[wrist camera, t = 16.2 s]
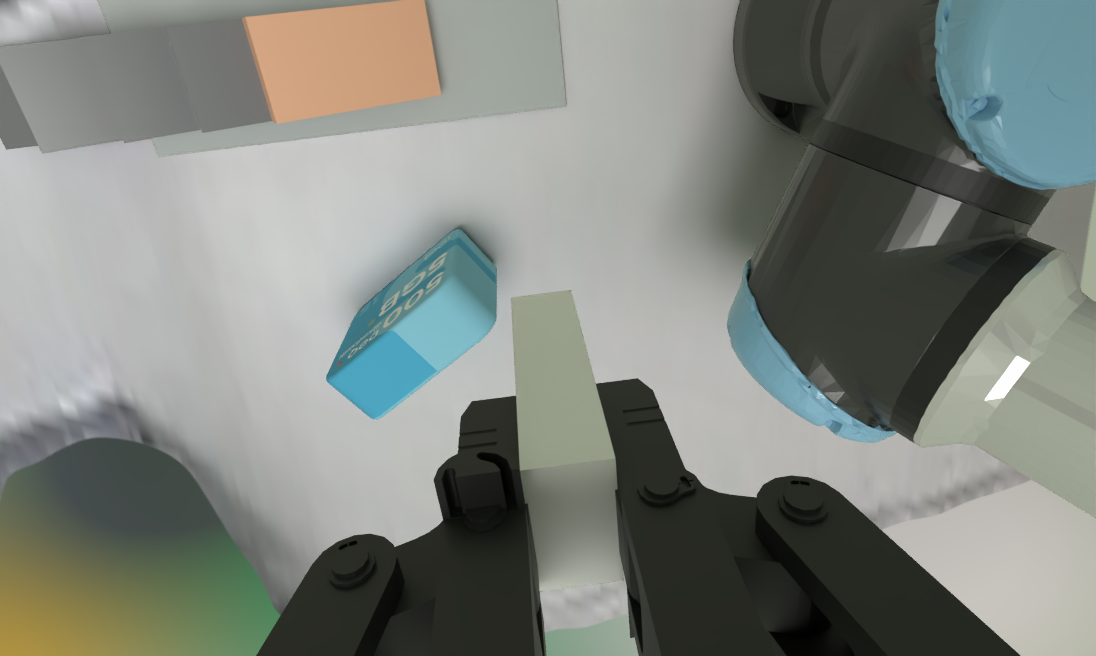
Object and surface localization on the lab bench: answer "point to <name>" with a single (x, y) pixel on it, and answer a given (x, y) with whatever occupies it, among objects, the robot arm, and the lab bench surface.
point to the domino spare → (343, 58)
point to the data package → (417, 326)
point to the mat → (466, 92)
